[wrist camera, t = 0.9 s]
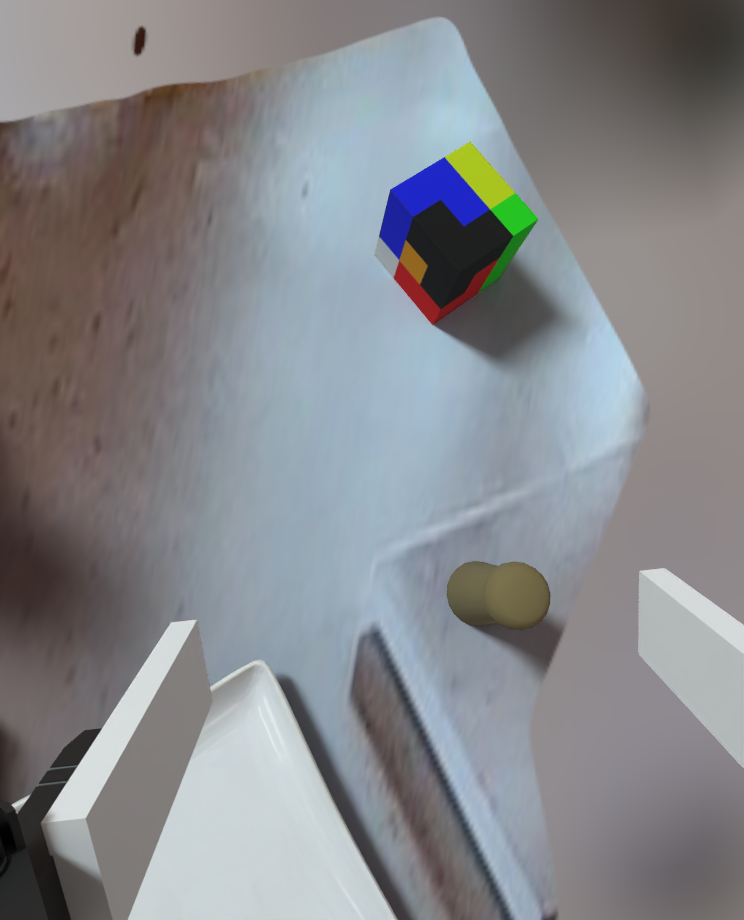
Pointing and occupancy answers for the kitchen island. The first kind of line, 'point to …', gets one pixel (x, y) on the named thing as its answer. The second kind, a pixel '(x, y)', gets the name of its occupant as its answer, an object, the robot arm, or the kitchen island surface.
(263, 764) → the square plate
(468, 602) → the cork
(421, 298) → the puzzle toy
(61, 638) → the kitchen island surface
